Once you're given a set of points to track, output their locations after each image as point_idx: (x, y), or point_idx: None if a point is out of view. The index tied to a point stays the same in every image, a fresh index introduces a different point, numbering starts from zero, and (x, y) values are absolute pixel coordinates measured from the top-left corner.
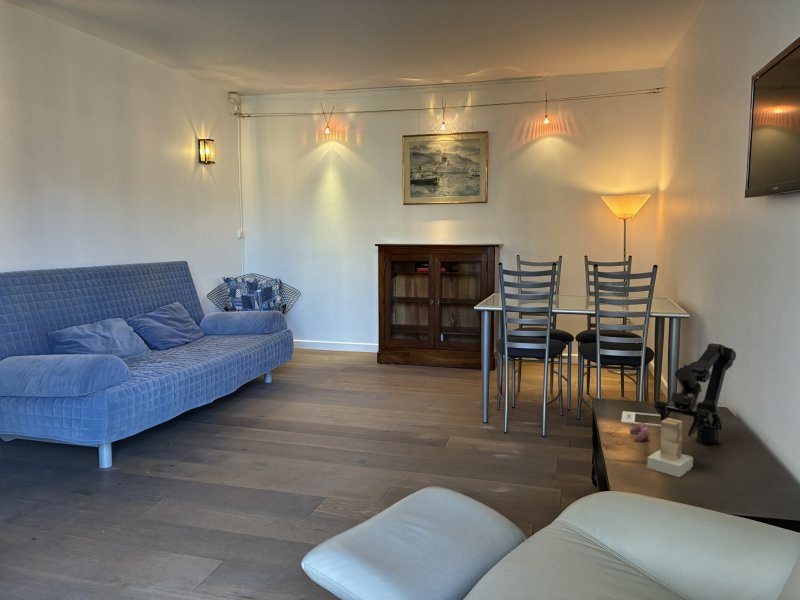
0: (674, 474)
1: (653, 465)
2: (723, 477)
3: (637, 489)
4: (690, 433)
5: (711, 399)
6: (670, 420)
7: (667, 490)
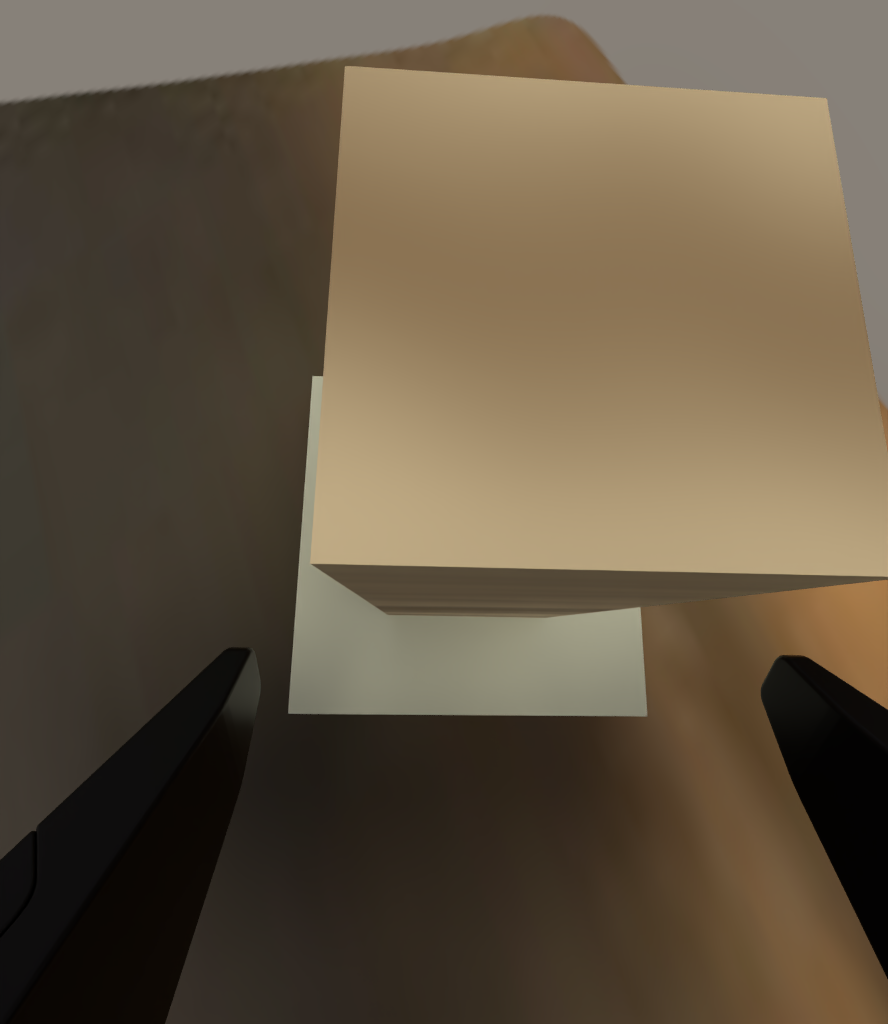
0: None
1: None
2: (34, 669)
3: None
4: (195, 680)
5: None
6: (669, 337)
7: (320, 173)
